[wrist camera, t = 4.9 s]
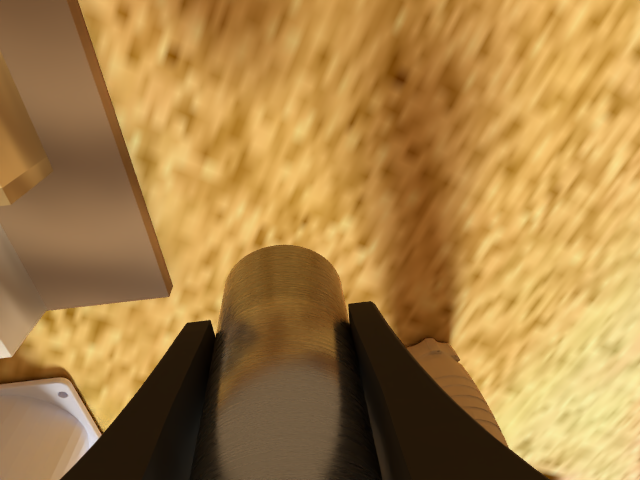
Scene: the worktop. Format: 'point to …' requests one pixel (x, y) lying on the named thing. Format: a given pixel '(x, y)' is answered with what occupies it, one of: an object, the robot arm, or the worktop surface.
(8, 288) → the hinge block
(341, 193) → the worktop surface
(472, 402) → the handle
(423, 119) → the worktop surface
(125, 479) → the robot arm
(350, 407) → the hinge pin
